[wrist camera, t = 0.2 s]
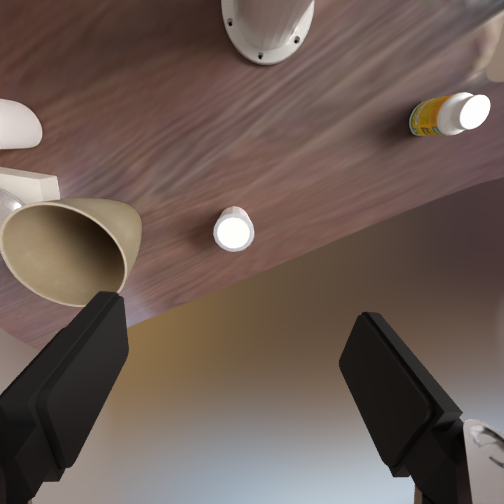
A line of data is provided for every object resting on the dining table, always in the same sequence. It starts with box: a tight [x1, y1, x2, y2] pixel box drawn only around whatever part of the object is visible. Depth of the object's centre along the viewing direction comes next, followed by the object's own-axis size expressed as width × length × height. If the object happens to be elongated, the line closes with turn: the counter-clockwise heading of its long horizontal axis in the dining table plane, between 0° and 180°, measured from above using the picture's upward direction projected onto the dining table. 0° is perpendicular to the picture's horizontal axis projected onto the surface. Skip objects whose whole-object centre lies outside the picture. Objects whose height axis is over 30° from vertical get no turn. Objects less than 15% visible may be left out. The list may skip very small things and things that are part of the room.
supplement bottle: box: [409, 93, 490, 136], centre depth 35 cm, size 5×5×10 cm
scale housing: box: [0, 167, 60, 205], centre depth 40 cm, size 14×12×4 cm
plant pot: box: [0, 198, 142, 307], centre depth 37 cm, size 15×15×16 cm
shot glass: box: [213, 206, 254, 252], centre depth 42 cm, size 7×7×7 cm
